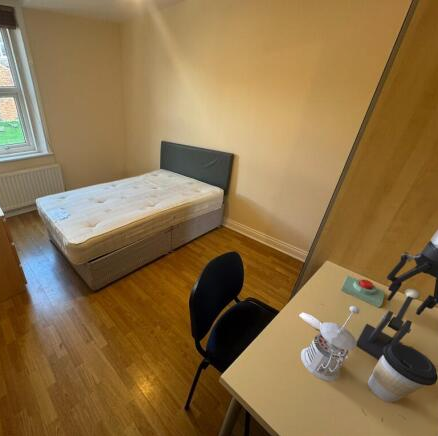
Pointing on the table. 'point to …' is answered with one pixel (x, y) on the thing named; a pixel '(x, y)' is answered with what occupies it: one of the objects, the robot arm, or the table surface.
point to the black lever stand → (380, 336)
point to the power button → (366, 284)
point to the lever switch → (403, 309)
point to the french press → (329, 350)
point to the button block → (363, 291)
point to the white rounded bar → (311, 320)
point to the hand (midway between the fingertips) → (403, 305)
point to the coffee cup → (401, 373)
